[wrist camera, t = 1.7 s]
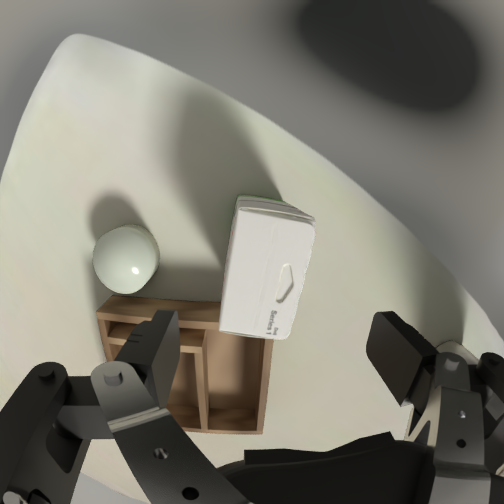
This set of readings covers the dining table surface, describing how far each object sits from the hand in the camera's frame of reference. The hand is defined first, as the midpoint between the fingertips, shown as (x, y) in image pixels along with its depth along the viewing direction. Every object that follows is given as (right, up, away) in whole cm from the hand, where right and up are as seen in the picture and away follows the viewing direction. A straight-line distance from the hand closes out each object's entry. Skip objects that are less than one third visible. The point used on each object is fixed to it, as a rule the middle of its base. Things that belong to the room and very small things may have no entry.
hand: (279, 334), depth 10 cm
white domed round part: (-14, +3, +17) cm, 22 cm away
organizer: (-9, -10, +21) cm, 25 cm away
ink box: (-1, +5, +18) cm, 18 cm away
